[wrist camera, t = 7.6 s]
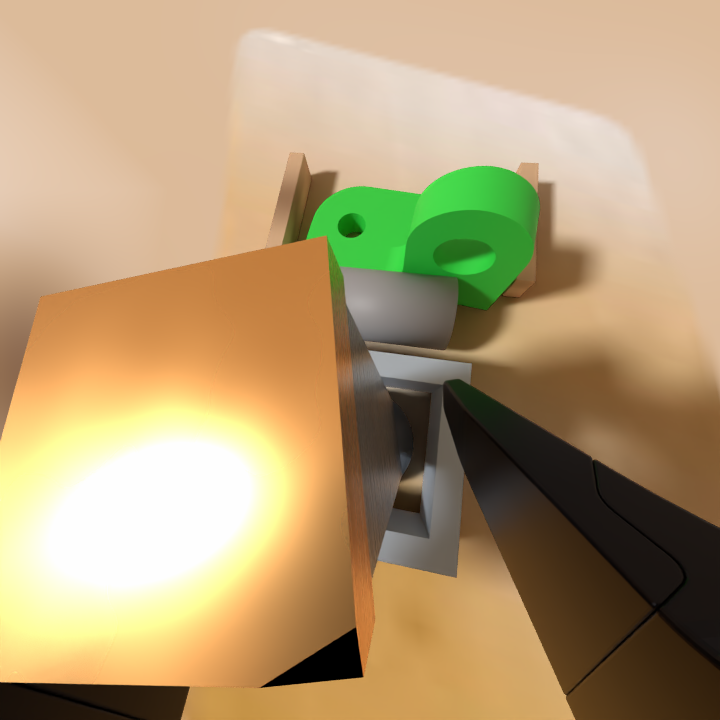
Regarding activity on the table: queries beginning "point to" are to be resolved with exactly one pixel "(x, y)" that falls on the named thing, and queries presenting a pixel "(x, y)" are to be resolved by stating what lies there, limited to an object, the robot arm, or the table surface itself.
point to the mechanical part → (439, 230)
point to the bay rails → (296, 197)
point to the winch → (426, 330)
